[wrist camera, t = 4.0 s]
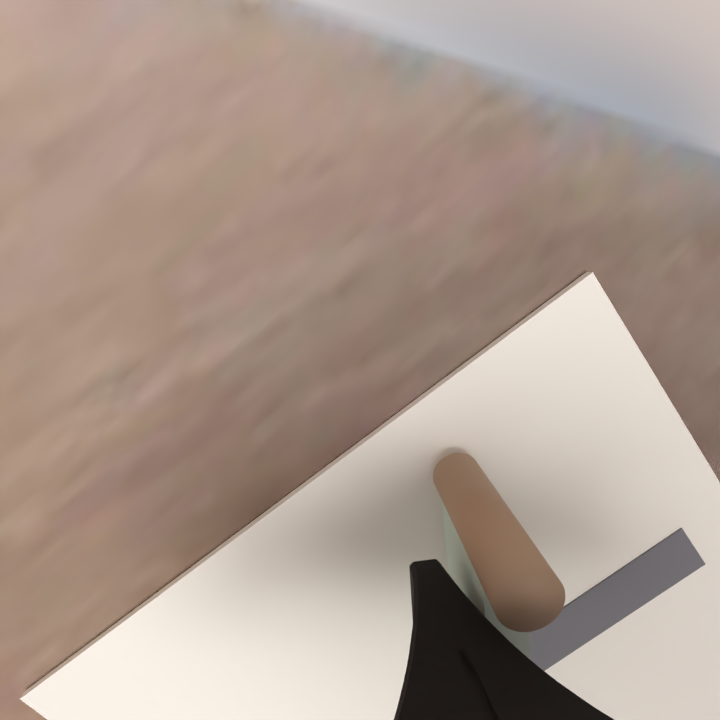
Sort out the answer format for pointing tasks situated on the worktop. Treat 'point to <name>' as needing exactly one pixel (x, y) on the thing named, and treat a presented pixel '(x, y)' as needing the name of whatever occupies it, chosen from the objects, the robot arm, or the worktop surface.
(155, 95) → the worktop surface
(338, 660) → the card
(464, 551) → the panel
